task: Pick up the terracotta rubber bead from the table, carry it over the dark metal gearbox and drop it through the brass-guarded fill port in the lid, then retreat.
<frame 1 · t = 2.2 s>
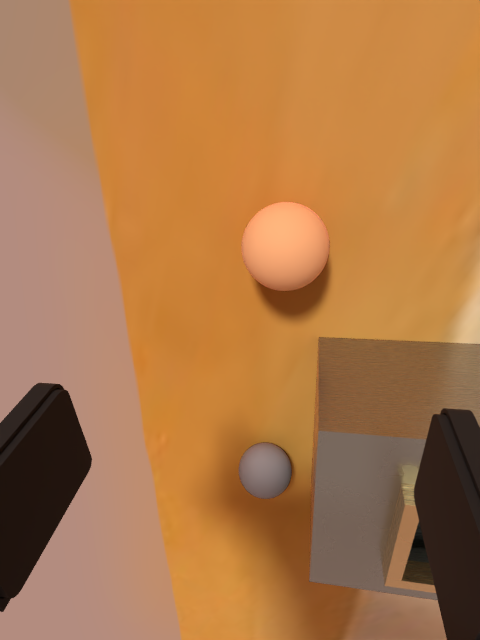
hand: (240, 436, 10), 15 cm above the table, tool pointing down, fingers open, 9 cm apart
bead: (287, 232, 23), on the table
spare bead: (284, 456, 32), point 1 cm above the table, tilted 44°
gearbox: (430, 425, 28), on the table
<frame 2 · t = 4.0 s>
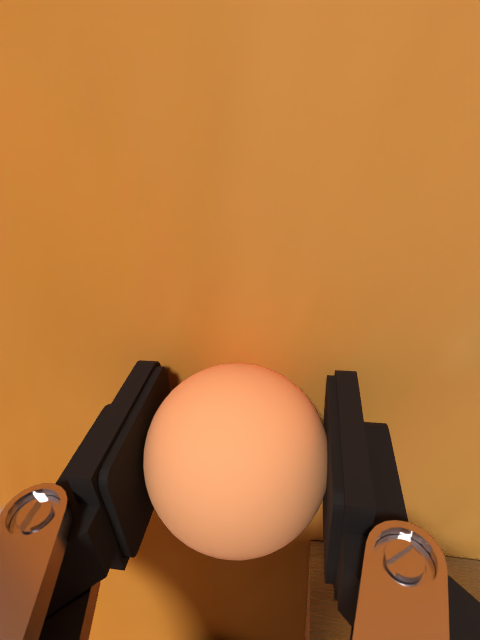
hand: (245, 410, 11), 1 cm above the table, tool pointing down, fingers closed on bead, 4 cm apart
bead: (249, 393, 12), on the table, touching gripper
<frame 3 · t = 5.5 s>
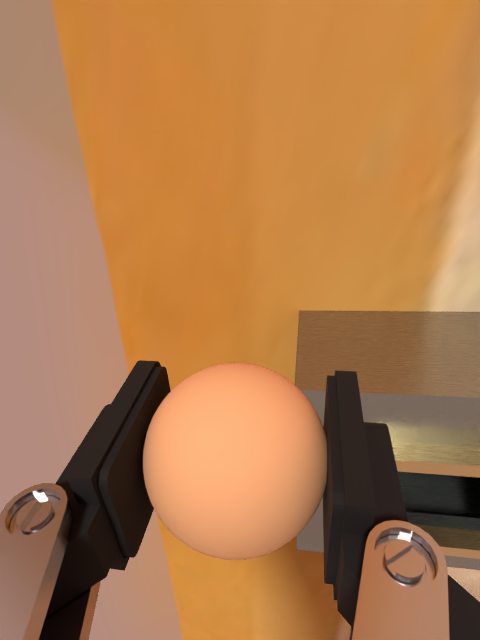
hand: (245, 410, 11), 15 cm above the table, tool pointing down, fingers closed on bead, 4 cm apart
bead: (248, 393, 12), point 15 cm above the table, touching gripper
gearbox: (412, 396, 29), on the table
when the fingers open (10 cm above the table, at t = 7.3 s): bead drops 9 cm, resting on gearbox.
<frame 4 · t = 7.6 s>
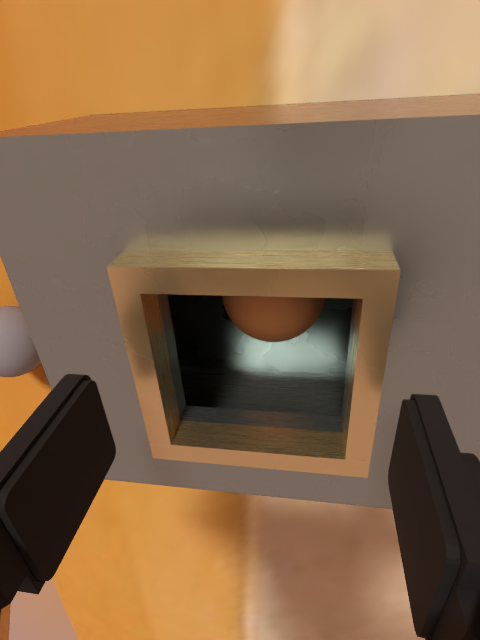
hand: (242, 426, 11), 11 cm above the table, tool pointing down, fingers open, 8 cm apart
bead: (272, 269, 20), point 1 cm above the table, tilted 6°, touching gearbox
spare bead: (14, 358, 21), point 4 cm above the table, tilted 140°
gearbox: (275, 264, 20), on the table
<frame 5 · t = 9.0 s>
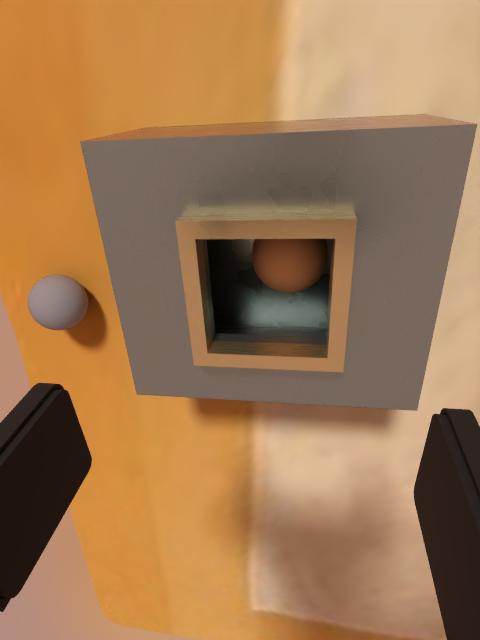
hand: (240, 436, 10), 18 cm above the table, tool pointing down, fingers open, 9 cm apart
bead: (276, 243, 26), point 1 cm above the table, tilted 24°, touching gearbox
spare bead: (50, 315, 27), point 4 cm above the table, tilted 165°
gearbox: (277, 239, 27), on the table
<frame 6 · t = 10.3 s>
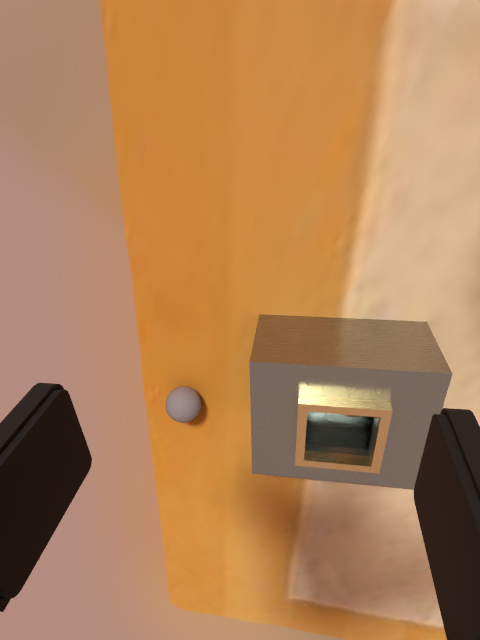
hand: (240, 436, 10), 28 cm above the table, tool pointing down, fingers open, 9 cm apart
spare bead: (176, 416, 44), point 4 cm above the table, tilted 172°
gearbox: (334, 374, 43), on the table
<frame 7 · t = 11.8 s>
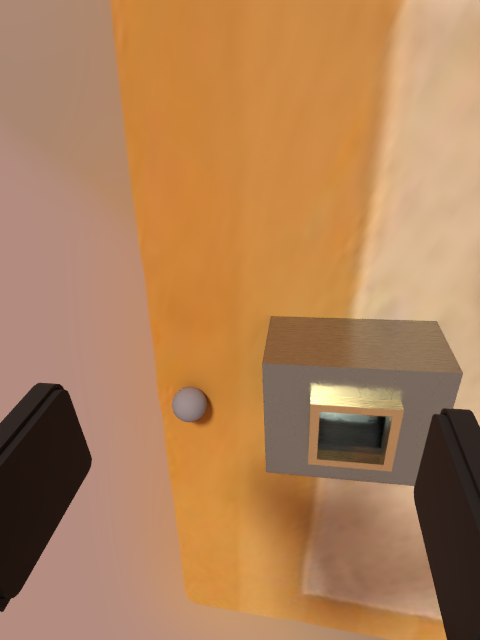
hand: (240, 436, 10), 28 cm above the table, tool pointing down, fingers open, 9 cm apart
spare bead: (176, 413, 46), point 4 cm above the table, tilted 146°
gearbox: (345, 374, 44), on the table
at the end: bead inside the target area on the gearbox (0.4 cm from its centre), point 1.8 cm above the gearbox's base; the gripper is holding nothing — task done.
